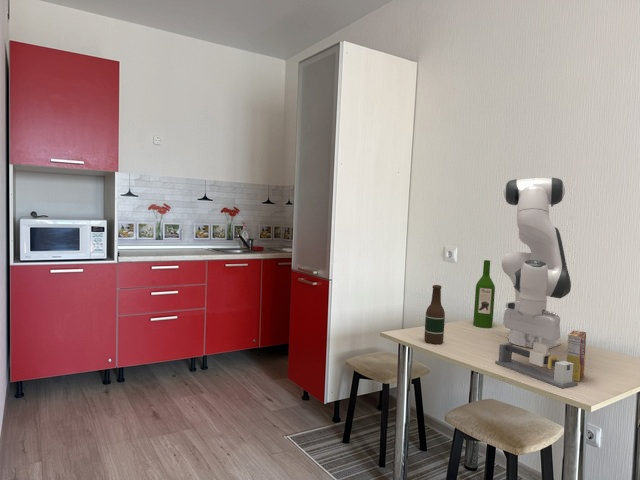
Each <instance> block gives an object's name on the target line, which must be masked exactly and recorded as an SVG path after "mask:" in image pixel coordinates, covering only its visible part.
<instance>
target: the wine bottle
mask: <svg viewBox="0 0 640 480" xmlns="http://www.w3.org/2000/svg"><path fill="white" fill-rule="evenodd" d="M482 270H483V271H482V276H481V277H480V278H479V280H478V281H477V282H476V285H475V294H474V295H475V296H474V307H473V309H474V310H473V322H472V323H473V326H474V327H476V328H482V329H491V328H492V327H493V324H494V320H493V319H494V309H495V295H496V294H495V292H496V286H495V284H494V282H493V280H492V278H491V275H490V274H491V260H488V259H483V269H482Z"/></svg>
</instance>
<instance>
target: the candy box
mask: <svg viewBox="0 0 640 480" xmlns="http://www.w3.org/2000/svg"><path fill="white" fill-rule="evenodd" d="M586 340H587V332H586V331H581V330H572V331H571V332H569V334H568V335H567V348H566V349H567V350H566V361H567V362H570V363H574V364H573V377H572V381H574V382H577V383H579V382H581V380H582V379H583V378H584V376H585V367H586V366H585V364H586V344H587V343H586V342H587V341H586Z"/></svg>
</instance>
